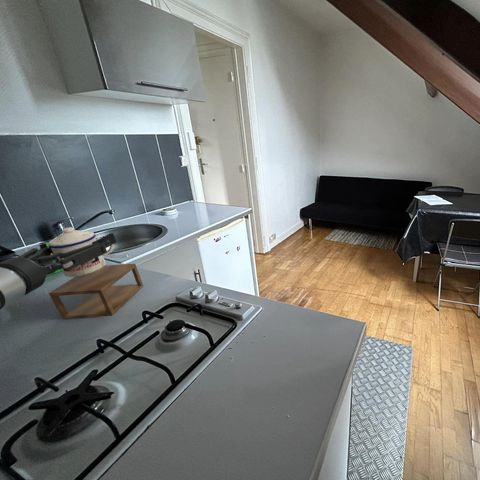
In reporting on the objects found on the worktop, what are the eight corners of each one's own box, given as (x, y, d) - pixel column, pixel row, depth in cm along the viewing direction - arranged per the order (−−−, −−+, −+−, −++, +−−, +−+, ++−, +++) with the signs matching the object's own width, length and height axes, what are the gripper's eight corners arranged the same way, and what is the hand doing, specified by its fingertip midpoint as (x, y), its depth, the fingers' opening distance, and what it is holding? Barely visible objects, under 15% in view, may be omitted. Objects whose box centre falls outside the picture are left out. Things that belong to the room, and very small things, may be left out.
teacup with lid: (64, 282, 64) (42, 238, 59) (62, 270, 70) (42, 229, 65) (122, 264, 71) (106, 223, 67) (116, 254, 77) (101, 217, 73)
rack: (62, 318, 68) (48, 293, 65) (101, 288, 81) (91, 266, 78) (112, 315, 68) (100, 289, 65) (143, 286, 81) (135, 263, 78)
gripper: (57, 260, 50) (130, 223, 70) (-64, 269, 50) (45, 229, 70) (73, 293, 53) (139, 248, 73) (-40, 301, 53) (58, 254, 73)
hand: (93, 238), depth 72 cm, fingers closed on teacup with lid, 10 cm apart
